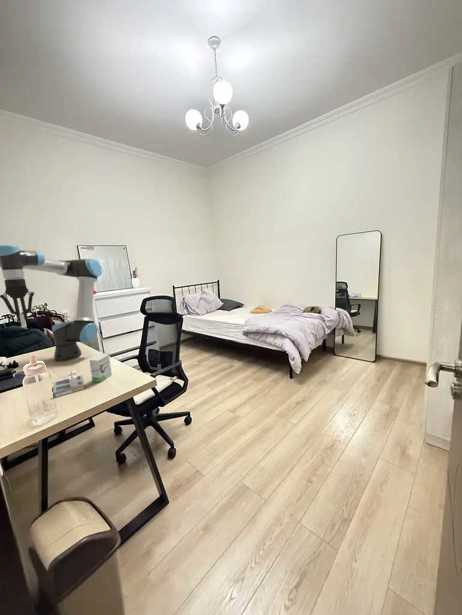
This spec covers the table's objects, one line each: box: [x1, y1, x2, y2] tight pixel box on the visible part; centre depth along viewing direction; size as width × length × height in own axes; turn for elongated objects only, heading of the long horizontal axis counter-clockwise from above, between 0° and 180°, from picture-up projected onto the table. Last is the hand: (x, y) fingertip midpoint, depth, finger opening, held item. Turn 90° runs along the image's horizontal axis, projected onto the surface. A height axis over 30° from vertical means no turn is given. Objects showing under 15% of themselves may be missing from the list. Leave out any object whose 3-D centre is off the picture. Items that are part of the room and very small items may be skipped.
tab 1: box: [67, 369, 77, 377], centre depth 123 cm, size 4×3×5 cm
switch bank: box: [52, 375, 86, 398], centre depth 120 cm, size 13×12×2 cm
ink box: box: [89, 353, 113, 383], centre depth 127 cm, size 9×5×12 cm, turn 168°
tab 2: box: [68, 374, 78, 388], centre depth 117 cm, size 4×3×5 cm
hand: (24, 327), depth 122 cm, fingers closed
